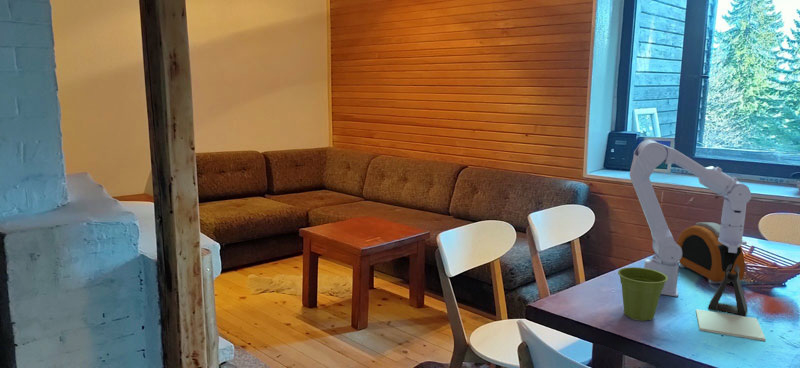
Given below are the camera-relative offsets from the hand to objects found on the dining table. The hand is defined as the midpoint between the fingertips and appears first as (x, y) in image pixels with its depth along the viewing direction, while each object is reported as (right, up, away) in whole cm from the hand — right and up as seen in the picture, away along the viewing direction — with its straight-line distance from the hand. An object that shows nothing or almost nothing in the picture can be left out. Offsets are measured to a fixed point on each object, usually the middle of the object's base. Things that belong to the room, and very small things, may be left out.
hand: (726, 271), depth 170 cm
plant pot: (-31, -10, -15) cm, 36 cm away
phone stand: (-4, -9, -9) cm, 13 cm away
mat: (-10, -11, -19) cm, 24 cm away
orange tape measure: (+5, -4, +21) cm, 22 cm away
